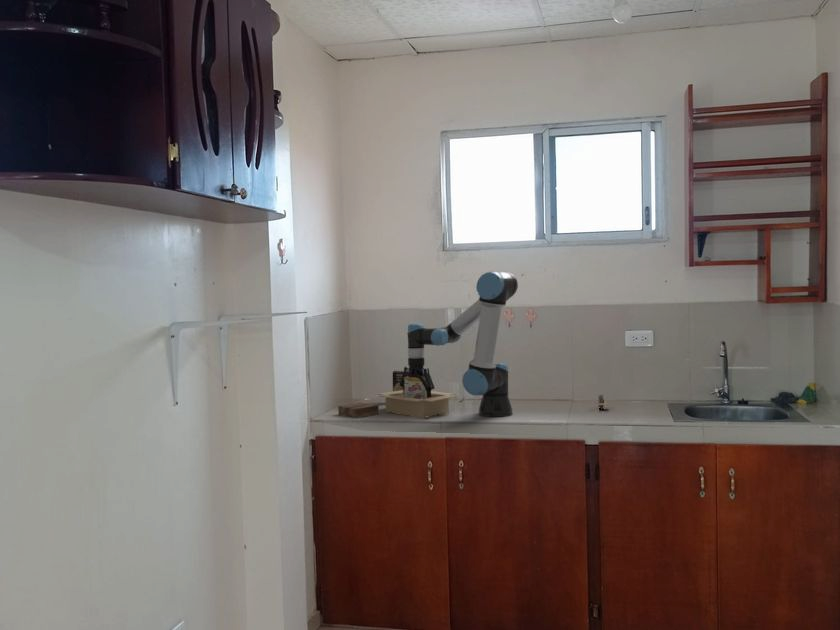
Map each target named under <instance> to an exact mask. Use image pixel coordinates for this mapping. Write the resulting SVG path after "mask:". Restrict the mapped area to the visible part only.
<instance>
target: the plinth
mask: <svg viewBox="0 0 840 630" xmlns="http://www.w3.org/2000/svg"><path fill="white" fill-rule="evenodd" d="M337 407H338V409H337V410H338V416H343V417H348V416H350V418H354V417H357V418H356V419H359V418H358V417H361V418H365V417H364V416H366V417H370V416H369V415H371V416H375V415H374V414H377V415H379V413H380V412H379V411H380V410H379V408H380V407H379V404H377V405H376V404H373V403H371V404H370V403H364V402H355V403H350V404H344V405H339V406H337Z"/></svg>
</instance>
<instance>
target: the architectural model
mask: <svg viewBox="0 0 840 630" xmlns="http://www.w3.org/2000/svg"><path fill="white" fill-rule="evenodd" d="M597 397H598V398H597V399H598V400H597V403H598V404H597V406H598V407H597V408H598V409H599V407H600V408H603V407H604V406H607V404H608V401H605V398H604V394H601V393H599V394H598V395H597ZM604 408H605V407H604ZM598 409H597V410H598ZM599 410H600V409H599Z"/></svg>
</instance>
